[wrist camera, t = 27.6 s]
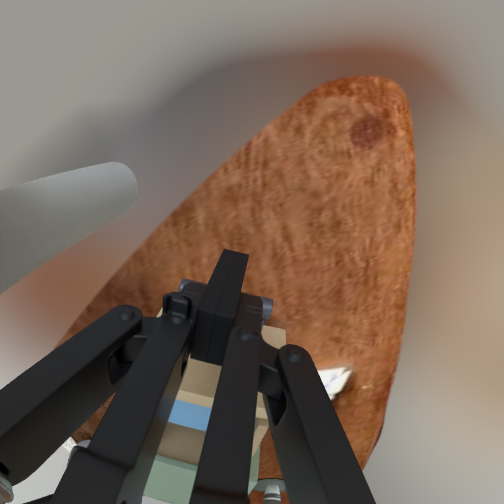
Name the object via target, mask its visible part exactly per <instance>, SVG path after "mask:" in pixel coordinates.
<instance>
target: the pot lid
mask: <svg viewBox="0 0 504 504" xmlns="http://www.w3.org/2000/svg"><path fill="white" fill-rule="evenodd" d="M253 489H255V490H257V491H261V492H265V495H264V500H263V504H281V501H280V500H281V496H280V492H282V491H286V488H285V484H284V480H281V479H262V480H258V481H257V484H256V485H255V486H254V488H253Z"/></svg>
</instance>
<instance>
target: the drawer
mask: <svg viewBox="0 0 504 504" xmlns="http://www.w3.org/2000/svg"><path fill="white" fill-rule="evenodd" d="M191 281H192V282H196V283H200V284H204V285H208V284H205V283H201V282H197V281H193V280H189V279H185V278H183V279H182V281H181V283H180V286H179V291H178V292H181V290H182V289H183V287H184V285H186V284H187V283H189V282H191ZM241 293H243V292H241ZM245 294H247V293H245ZM250 295H252V294H250ZM254 296H256V295H254ZM259 297H260V298H261V300H262V301H263V314H262V325H261V334H262V338H263V339H264V341H265V342H267V343H268V344H269V345H271V346H273V347H275V348H278V349H280V347H282V346H284V345H286V332H285V329H280V328H275V327H270V326H265V325H264V322H265V320H269V318H270V315H271V312H272V307H273V299H270V298H265V297H261V296H259ZM162 309H163V307H162ZM162 309H161V310H160V312H159V313H158V315H157V317H160V316H161V315H162ZM190 354H191V353H190ZM221 367H222V366H218V365H214V364H210V363H206V362H202V361H198V360H194V359H190V355H189V358H188V366H187V369H186V372H185V375H184V377H183V380H182V383H181V386H180V388H179V391H178V394H177V397H176V399H177V400H181V401H185V402H188V403H192V404H196V405H200V406H204V407H208V408H212V405H213V401H214V396H215V392H216V388H217V384H218V380H219V376H220V371H221ZM267 429H268V418H267V414H266V410H265V406H264V402H263V398H262V393H260V392H258V396H257V407H256V418H255V428H254V438H253V448H252V457H253V455H254V454H255V452H256V450H257V448H258V446H259V444H260V442H261V440H262V438H263V436H264V435H265V433H266V431H267ZM205 434H206V431H202V430H198V429H194V428H190V427H186V426H182V425H179V424H175V423H172V422H167V425H166V428H165V431H164V434H163V436H162V439H161V442H160V445H159V448H158V451H157V455H160V456H163V457H167V458H170V459H174V460H177V461H181V462H185V463H189V464H193V465H197V466H198V464H199V459H200V455H201V451H202V447H203V443H204V438H205ZM251 459H252V458H251Z"/></svg>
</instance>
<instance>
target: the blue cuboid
mask: <svg viewBox="0 0 504 504" xmlns="http://www.w3.org/2000/svg"><path fill="white" fill-rule="evenodd" d="M211 409H212V408H208V407H204V406H200V405H196V404H192V403H188V402H185V401H181V400H177V399H176V400H175V402H174V405H173V408H172V411H171V414H170V416H169V419H168V422H172V423H175V424H179V425H182V426H186V427H190V428H194V429H198V430H202V431H206V430H207V426H208V422H209V417H210V413H211Z"/></svg>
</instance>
